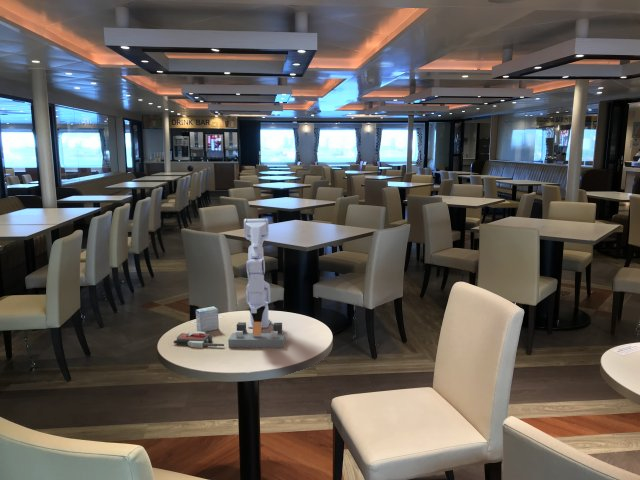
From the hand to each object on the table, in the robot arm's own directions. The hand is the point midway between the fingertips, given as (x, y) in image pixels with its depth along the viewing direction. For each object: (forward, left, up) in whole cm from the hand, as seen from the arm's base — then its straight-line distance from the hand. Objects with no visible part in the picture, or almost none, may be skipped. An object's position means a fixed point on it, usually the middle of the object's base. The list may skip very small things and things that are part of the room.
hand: (257, 326), depth 195 cm
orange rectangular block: (+3, 0, -3) cm, 4 cm away
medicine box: (-13, -23, -7) cm, 27 cm away
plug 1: (-7, -7, -6) cm, 11 cm away
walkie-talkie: (+2, -21, -7) cm, 22 cm away
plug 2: (-7, +7, -6) cm, 12 cm away
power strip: (+2, 0, -6) cm, 7 cm away
